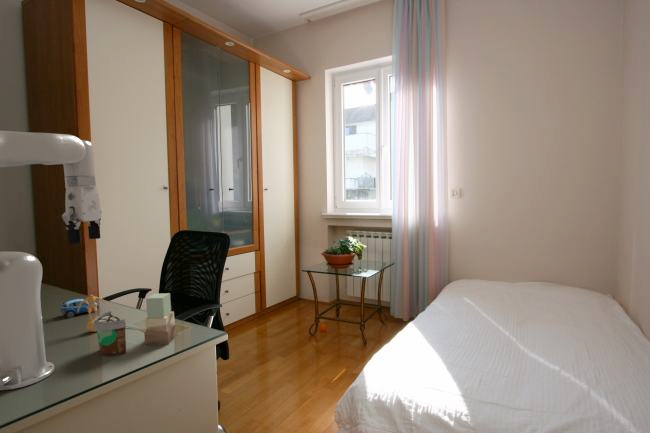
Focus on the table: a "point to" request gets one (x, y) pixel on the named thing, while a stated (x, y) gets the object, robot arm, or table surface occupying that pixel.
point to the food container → (110, 334)
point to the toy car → (75, 307)
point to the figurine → (91, 301)
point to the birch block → (160, 323)
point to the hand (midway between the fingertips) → (85, 240)
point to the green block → (158, 305)
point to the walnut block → (161, 336)
